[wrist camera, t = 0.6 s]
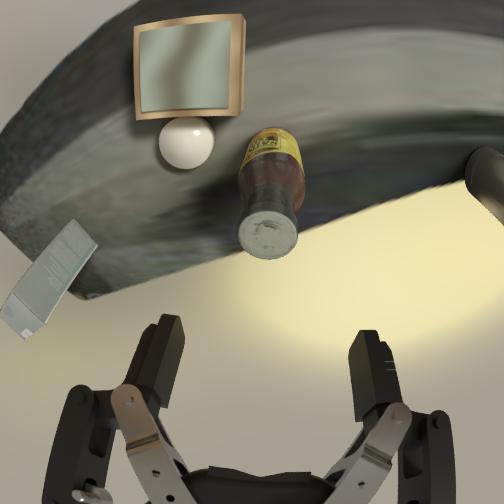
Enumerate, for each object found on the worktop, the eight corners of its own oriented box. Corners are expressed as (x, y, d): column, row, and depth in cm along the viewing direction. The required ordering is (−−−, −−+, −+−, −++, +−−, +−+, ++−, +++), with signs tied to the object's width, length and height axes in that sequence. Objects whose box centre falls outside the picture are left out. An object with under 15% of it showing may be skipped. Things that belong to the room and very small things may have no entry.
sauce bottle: (272, 115, 31) (272, 165, 15) (307, 148, 33) (341, 231, 17) (237, 150, 34) (203, 234, 18) (272, 180, 36) (271, 283, 20)
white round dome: (215, 113, 31) (211, 116, 29) (215, 163, 35) (212, 169, 33) (163, 115, 31) (157, 118, 29) (167, 163, 36) (161, 169, 34)
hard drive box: (67, 273, 51) (24, 340, 35) (45, 249, 47) (-4, 313, 31) (100, 245, 45) (45, 327, 29) (74, 215, 41) (9, 291, 26)
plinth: (246, 22, 23) (241, 13, 19) (242, 110, 30) (237, 116, 26) (151, 30, 24) (132, 26, 19) (152, 113, 31) (134, 120, 27)
